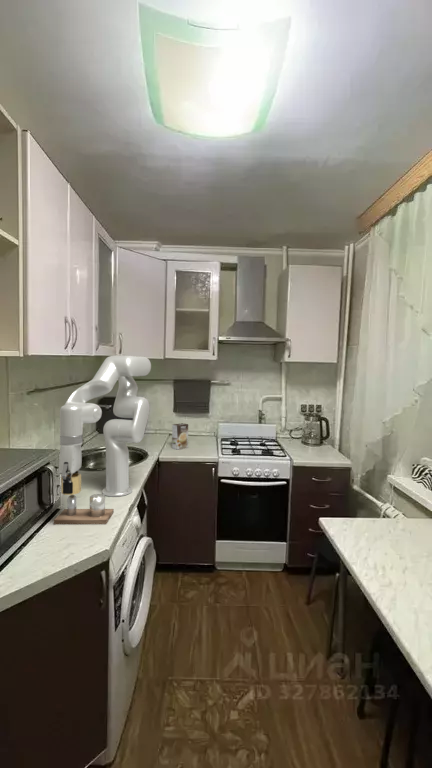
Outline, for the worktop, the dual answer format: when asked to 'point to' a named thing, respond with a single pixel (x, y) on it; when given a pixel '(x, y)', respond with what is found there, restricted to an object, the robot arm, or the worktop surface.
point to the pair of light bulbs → (95, 505)
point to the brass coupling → (76, 483)
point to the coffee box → (179, 436)
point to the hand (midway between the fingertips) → (71, 489)
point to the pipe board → (83, 517)
